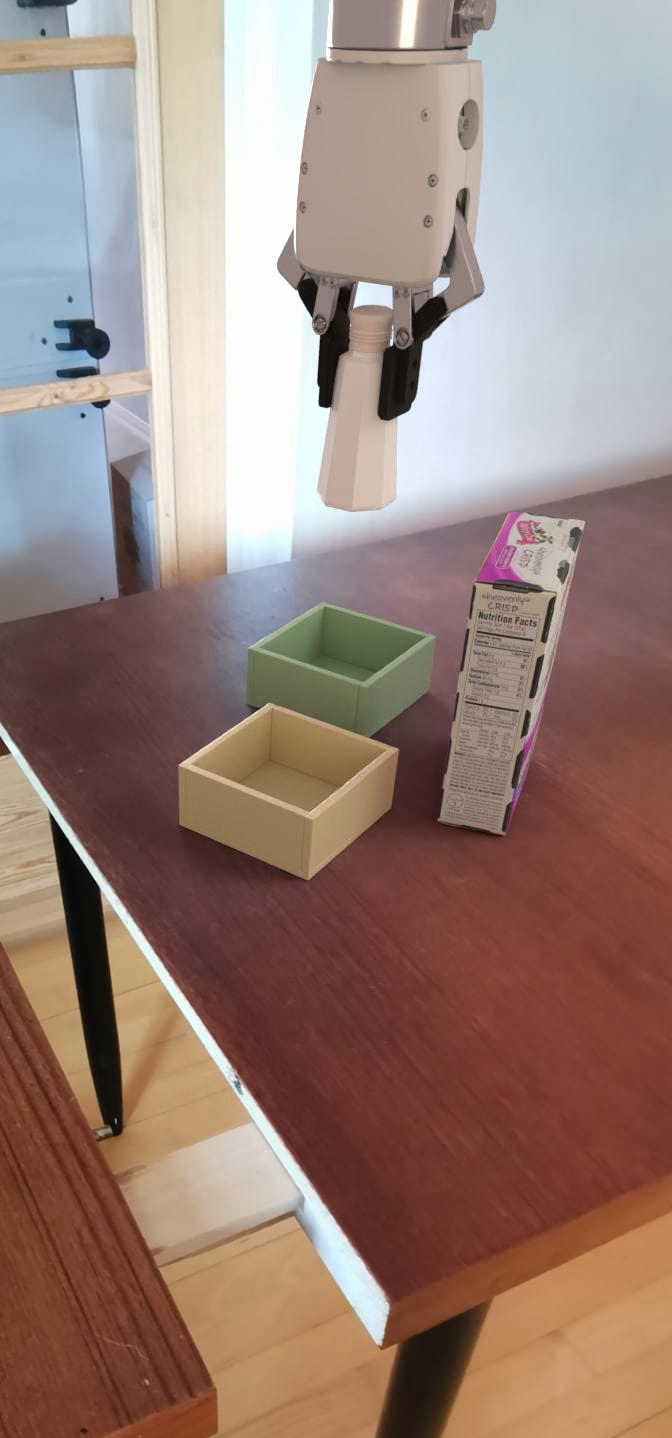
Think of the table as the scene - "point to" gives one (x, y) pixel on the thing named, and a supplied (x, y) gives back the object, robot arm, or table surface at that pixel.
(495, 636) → the candy bar box
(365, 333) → the pepper shaker
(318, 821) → the cream bin
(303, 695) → the green bin
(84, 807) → the table surface
